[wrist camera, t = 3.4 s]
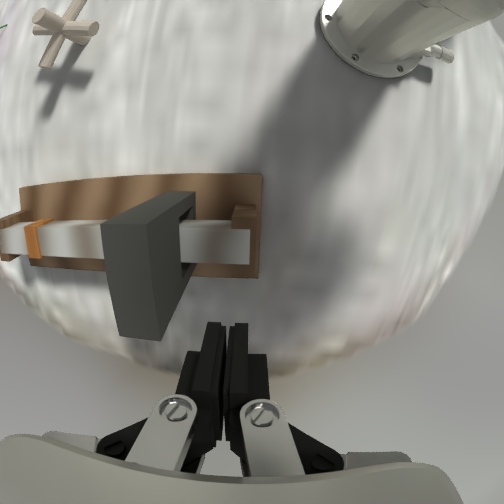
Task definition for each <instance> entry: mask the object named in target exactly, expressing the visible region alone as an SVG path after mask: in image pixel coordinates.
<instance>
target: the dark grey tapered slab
mask: <svg viewBox="0 0 504 504" xmlns="http://www.w3.org/2000/svg"><path fill="white" fill-rule="evenodd" d="M179 220H196V191H171V192H165V193H163V194H160V195H158V196H156V197H154V198H152V199H149V200H147V201H145V202H143V203H141V204H139V205H137V206H135V207H133V208H131V209H129V210H127V211H125V212H123V213H121V214H119V215H117V216H115V217H113V218H111V219H109V220H107V221H105V222H103V223H101V224H100V230H101V239H102V247H103V254H104V261H105V267H106V273H107V279H108V285H109V290H110V295H111V300H112V305H113V310H114V314H115V319H116V323H117V327H118V331H119V335H120V336H123V337H131V338H138V339H146V340H155V341H161V340H162V337H163V335H164V333H165V331H166V328H167V326H168V324H169V322H170V320H171V317H172V315H173V313H174V311H175V309H176V307H177V305H178V302H179V300H180V298H181V296H182V294H183V292H184V290H185V288H186V286H187V283H188V281H189V279H190V277H191V275H192V273H193V271H194V269H195V267H196V265H197V263H188V262H181V253H180V233H179Z"/></svg>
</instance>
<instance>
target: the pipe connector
mask: <svg viewBox="0 0 504 504" xmlns="http://www.w3.org/2000/svg"><path fill="white" fill-rule="evenodd" d="M86 2H87V0H73V1H72V2H71V4H70V6H69V7H68V9H67V11H66V12H65V14H64V16H63V17H60V16H58V15H56V14H54V13H53V12H51V11H49V10H47V9H45V8H41V9H39V10H38V11H37V12H36V13H35V14H34V16H33V18H32V22H33V23H35V24H36V25H35V26H34V28H33V34H34V35H53V36H52V38H51V40H50V42H49V44H48V46H47V48H46V50H45V52H44V54H43V56H42V59H41V61H40V63H39V67H43V68H48V69H51V68H52V66H53V63H54V61H55V59H56V57H57V55H58V52H59V50H60V48H61V46H62V44H63V42H64V40H65V38H67V39H69V40H71V41H73V42H75V43H77V44H79V45H81V46H84V45H86V44H87V43H88V42H89V41H90V38H91V37H93V36H94V35H96V33H97V32H98V30H99V23H98V22H95V21H75V20H76V18H77V16H78V15H79V13H80V11H81V10H82V8H83V7H84V5H85V3H86Z"/></svg>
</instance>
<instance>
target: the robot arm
mask: <svg viewBox="0 0 504 504" xmlns="http://www.w3.org/2000/svg"><path fill="white" fill-rule="evenodd" d="M503 12H504V0H325V2H324V4H323V5H322V8H321V11H320V25H321V30H322V32H323V34H324V37H325V39H326V40H327V42H328V43H329V45H330V46H331V48H332V49H333V50H334V51H335V52H336V53H337V54H338V56H340V57H341V58H342V59H343V60H344V61H346V62H347V63H348V64H350V65H351V66H353V67H354V68H356V69H358V70H360V71H362V72H364V73H366V74H369V75H372V76H375V77H381V78H396V77H400V76H403V75H405V74H407V73H409V72H411V71H412V70H413V69H414V68H415V67H416V66H417V65H418V63H419V61H420V58H421V56H422V55H424V56H427V57H430V56H431V55H432V56H434V57H436V58H438V59H440V60H442V61H445V62H447V63H452V61H453V59H454V54H453V51H451V50H450V49H448V48H446V47H443V46H441V45H437V44H436V43H438V42H440V41H443V40H445V39H447V38H449V37H451V36H453V35H456V34H458V33H460V32H463V31H465V30H467V29H470V28H472V27H474V26H477V25H479V24H482V23H484V22H486V21H489V20H491V19H494V18H496V17H498V16H499V15H501V14H502V13H503ZM326 19H327V20H326ZM352 58H353V59H354V60H353V59H352ZM223 419H225V435H226V441H230V450H231V451H233V452H234V453H235V454H236V455H237V456H239V457H240V463H241V469H242V475H243V477H229V476H213V475H203V474H200V471H201V468H202V465H203V462H204V459H205V453H207V452H209V451H210V450H212V449H213V447H216V440H220V441H221V440H222V431H223ZM0 504H463V501H462V499H461V497H460V495H459V493H458V491H457V490H456V487H455V486H454V484H453V483H452V481H451V480H450V478H449V477H448V476H447V474H446V473H445V472H444V471H443V470H441V469H440V468H438V467H436V466H434V465H430V464H425V463H416V462H412V461H411V459H410V458H409V457H408V456H407V454H404V453H402V452H348V453H347V454H339V453H338V452H336V451H335V450H333V449H332V448H330V447H328V446H326V445H324V444H323V443H321V442H319V441H317V440H316V439H314V438H312V437H310V436H309V435H307V434H305V433H303V432H302V431H300V430H299V429H297V428H296V427H294V426H292V425H291V424H289V423H288V422H287V419H286V416H285V413H284V411H283V409H282V407H281V406H280V405H278V404H277V403H275V402H273V401H271V400H270V395H269V382H268V369H267V357H266V354H248V323H235V326H230V330H229V339H228V348H226V326H221V322H208V323H207V327H206V331H205V335H204V339H203V344H202V348H201V352H197V351H188V352H187V354H186V358H185V361H184V365H183V368H182V372H181V375H180V379H179V382H178V386H177V389H176V393H175V394H174V395H168V396H165V397H163V398H161V399H160V400H159V401H158V402H157V403H156V405H155V407H154V408H153V410H152V412H151V414H150V416H149V417H148V418H146V419H144V420H142V421H140V422H137V423H135V424H133V425H131V426H129V427H126V428H124V429H122V430H119V431H117V432H114V433H112V434H110V435H107V436H106V437H104V438H102V439H97V437H96V436H88V435H79V434H71V433H64V432H57V431H50V432H47V433H45V434H44V435H43V436H38V435H30V434H15V435H10V436H7V437H5V438H4V439H2V440H1V441H0Z"/></svg>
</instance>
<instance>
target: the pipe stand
mask: <svg viewBox="0 0 504 504" xmlns="http://www.w3.org/2000/svg"><path fill="white" fill-rule="evenodd" d="M171 191H196V220H179V233H180V253H181V262H188V263H197V265H196V267H195V269H194V271H193V273H192V275H191V276H200V277H225V278H257V279H258V270H259V246H260V221H261V195H262V174H230V173H190V174H154V175H134V176H118V177H105V178H93V179H83V180H74V181H65V182H56V183H49V184H41V185H34V186H28V187H22V188H19V193H20V204H21V211H19V212H16V213H14V214H11V215H8V216H6V217H3V218H1V219H0V258H1V261H9V262H10V261H11V260H13V259H15V258H16V257H18V256H20V255H28V256H29V261H30V265H31V266H42V267H53V268H66V269H79V270H92V271H106V267H105V261H104V254H103V247H102V239H101V230H100V224H101V223H103V222H105V221H107V220H109V219H111V218H113V217H115V216H117V215H119V214H121V213H123V212H125V211H127V210H129V209H131V208H133V207H135V206H137V205H139V204H141V203H143V202H145V201H147V200H149V199H152V198H154V197H156V196H158V195H160V194H163V193H165V192H171Z"/></svg>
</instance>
